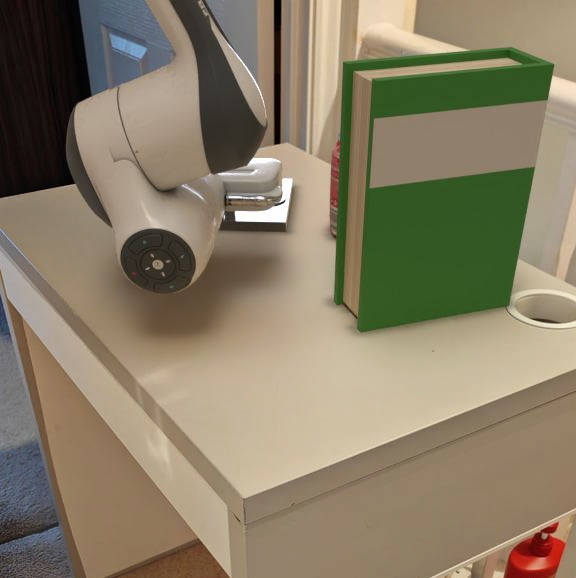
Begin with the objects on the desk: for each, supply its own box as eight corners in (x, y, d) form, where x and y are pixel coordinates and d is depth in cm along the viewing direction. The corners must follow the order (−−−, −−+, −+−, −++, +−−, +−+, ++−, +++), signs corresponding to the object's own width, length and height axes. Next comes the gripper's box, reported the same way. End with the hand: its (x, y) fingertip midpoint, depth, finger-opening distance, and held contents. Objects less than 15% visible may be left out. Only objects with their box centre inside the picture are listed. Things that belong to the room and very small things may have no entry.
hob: (131, 230, 107) (130, 217, 106) (154, 186, 119) (152, 174, 118) (285, 233, 106) (285, 220, 105) (292, 189, 118) (292, 177, 117)
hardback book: (360, 334, 86) (376, 81, 70) (333, 303, 91) (343, 61, 76) (508, 307, 90) (554, 64, 75) (474, 279, 96) (511, 46, 80)
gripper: (280, 172, 86) (288, 132, 96) (85, 169, 86) (114, 129, 97) (281, 232, 90) (288, 187, 100) (95, 228, 91) (121, 184, 101)
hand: (201, 158), depth 99 cm, fingers open, 8 cm apart
